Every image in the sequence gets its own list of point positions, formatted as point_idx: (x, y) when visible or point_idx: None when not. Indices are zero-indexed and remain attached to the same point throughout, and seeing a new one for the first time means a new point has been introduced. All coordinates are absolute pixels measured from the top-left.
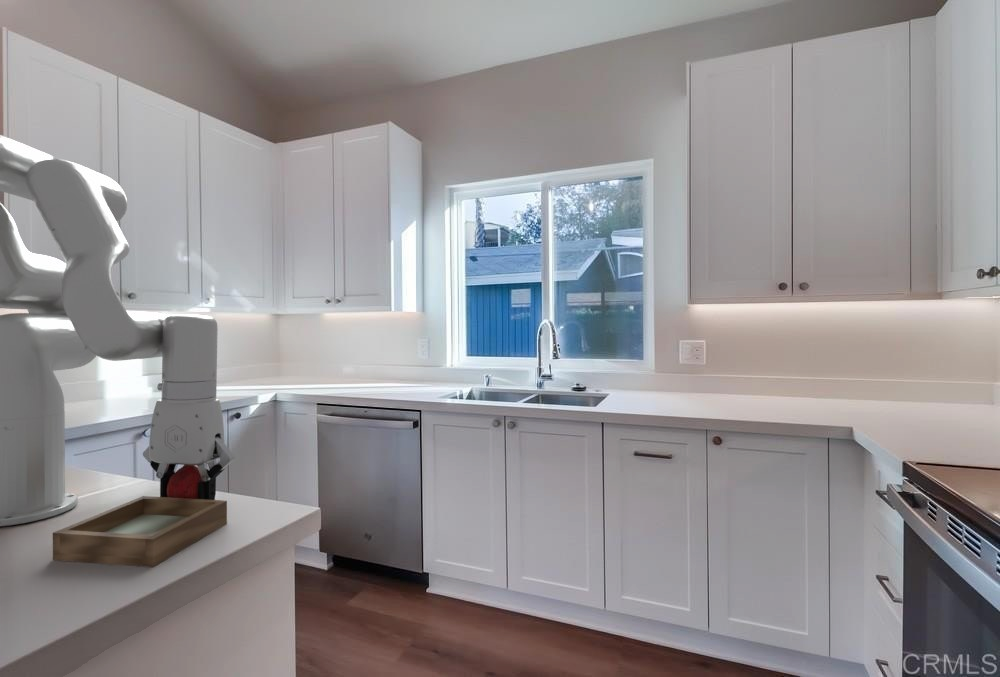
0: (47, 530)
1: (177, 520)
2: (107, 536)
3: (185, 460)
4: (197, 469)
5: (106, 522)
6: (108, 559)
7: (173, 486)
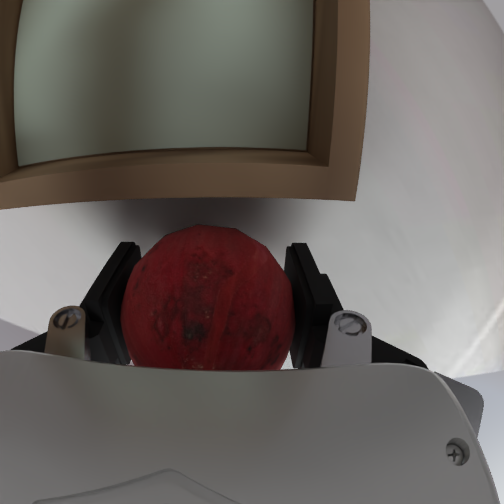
0: (494, 92)
1: (113, 111)
2: None
3: (77, 380)
4: None
5: None
6: None
7: (216, 258)
